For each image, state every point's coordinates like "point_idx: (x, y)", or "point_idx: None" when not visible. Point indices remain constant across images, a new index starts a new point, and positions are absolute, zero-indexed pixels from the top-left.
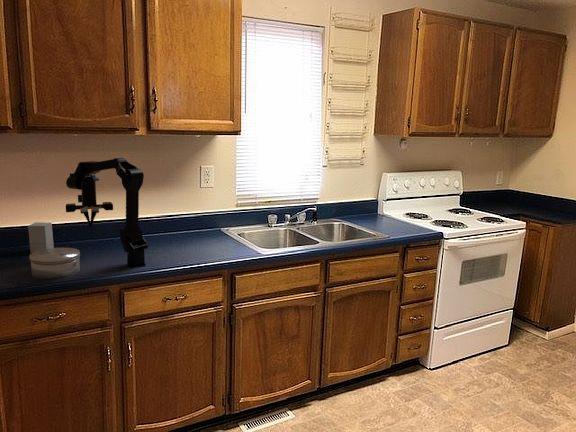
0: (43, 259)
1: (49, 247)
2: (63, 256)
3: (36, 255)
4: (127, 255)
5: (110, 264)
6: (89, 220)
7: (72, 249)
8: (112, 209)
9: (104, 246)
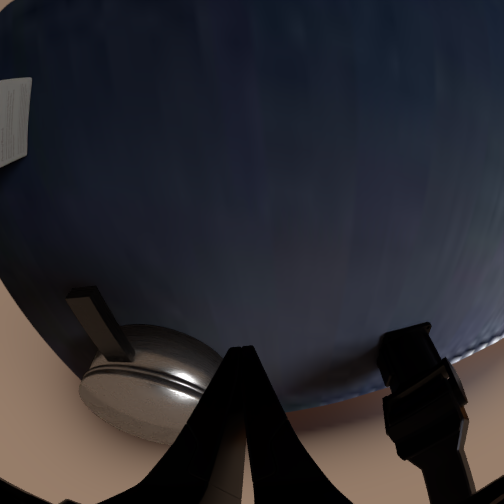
0: (149, 439)
1: (13, 130)
2: None
3: (109, 416)
4: (386, 386)
5: (329, 340)
6: (241, 447)
7: (191, 405)
8: (497, 483)
9: (302, 12)
